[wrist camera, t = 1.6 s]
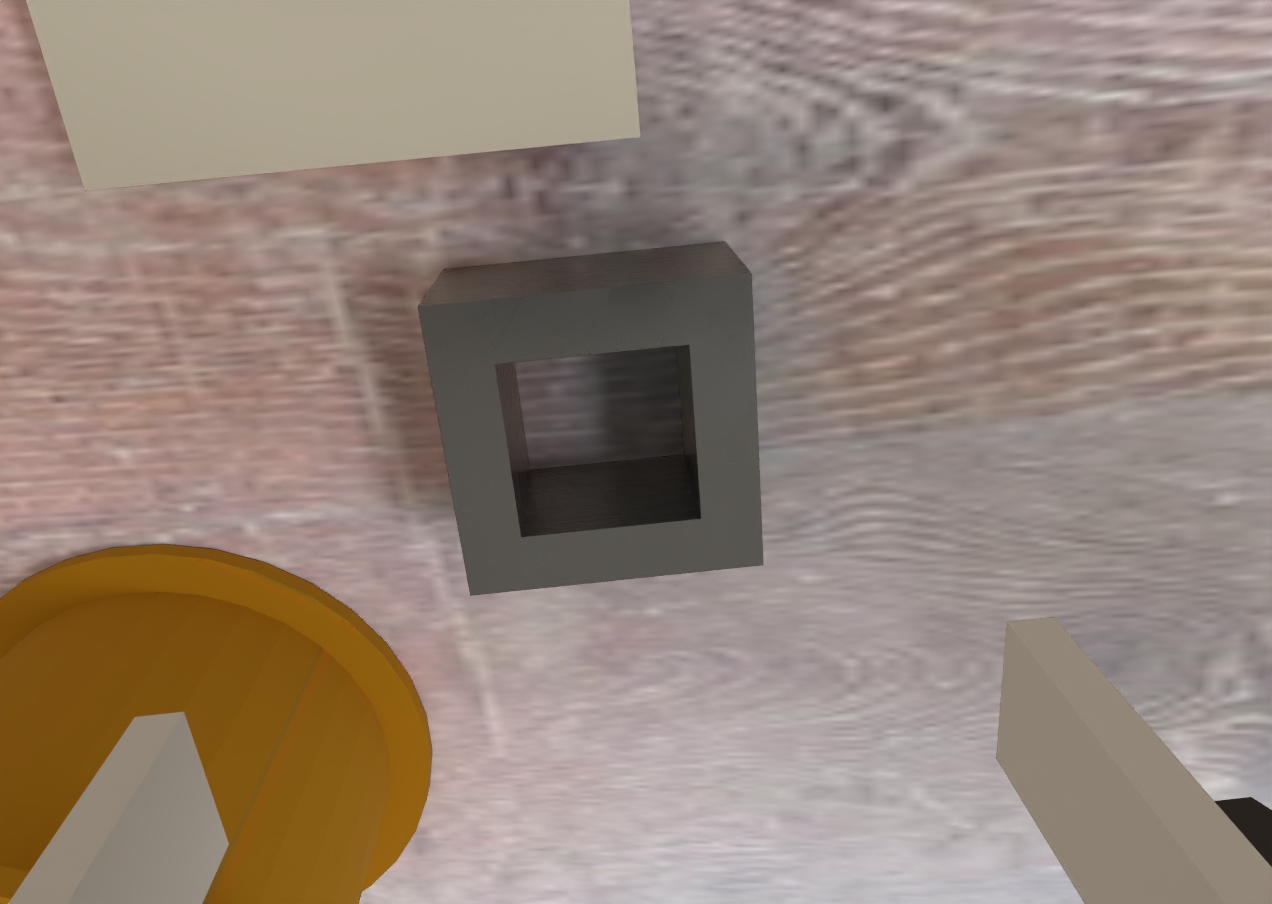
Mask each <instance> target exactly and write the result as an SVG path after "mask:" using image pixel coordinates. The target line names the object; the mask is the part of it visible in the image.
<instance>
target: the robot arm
mask: <svg viewBox="0 0 1272 904" xmlns="http://www.w3.org/2000/svg"><path fill="white" fill-rule="evenodd" d="M996 759H997V760H998V762H999V764H1000V765H1001V767H1002V769H1003V770H1004V772H1005V773H1006V775H1007V777H1008V778H1009V780H1010V782H1011V783H1012V785H1013V787H1014V788H1015V790H1016V792H1017V793H1018V795H1019V796H1020V798H1021V800H1022V801H1023V803H1024V805H1025V806H1026V808H1027V810H1028V811H1029V813H1030V815H1031V816H1032V818H1033V820H1034V821H1035V823H1036V824H1037V826H1038V828H1039V829H1040V831H1041V833H1042V834H1043V836H1044V838H1045V839H1046V841H1047V843H1048V844H1049V846H1050V847H1051V849H1052V851H1053V852H1054V854H1055V856H1056V857H1057V859H1058V861H1059V862H1060V864H1061V866H1062V867H1063V869H1064V871H1065V872H1066V874H1067V875H1068V877H1069V879H1070V880H1071V882H1072V884H1073V885H1074V887H1075V889H1076V890H1077V892H1078V894H1079V895H1080V897H1081V898H1082V900H1083V902H1084V903H1085V904H1272V810H1271V809H1269V808H1267V807H1266V806H1264V805H1263V804H1261V803H1260V802H1258V801H1257V800H1255V799H1253V798H1252V797H1247V798H1239V799H1230V800H1221V801H1214V800H1213V799H1212V798H1211V797H1210V796H1209V795H1208V793H1207V792H1206V791H1205V790H1204V789H1203V788H1202V787H1201V785H1200V784H1199V783H1198V782H1197V781H1196V780H1195V778H1194V777H1193V776H1192V775H1191V774H1190V773H1189V772H1188V770H1187V769H1186V768H1185V767H1184V766H1183V765H1182V764H1181V762H1180V761H1179V760H1178V759H1177V758H1176V757H1175V755H1174V754H1173V753H1172V752H1171V751H1170V750H1169V749H1168V747H1167V746H1166V745H1165V744H1164V743H1163V742H1162V741H1161V739H1160V738H1159V737H1158V736H1157V735H1156V734H1155V732H1154V731H1153V730H1152V729H1151V728H1150V727H1149V726H1148V724H1147V723H1146V722H1145V721H1144V720H1143V719H1142V718H1141V716H1140V715H1139V714H1138V713H1137V712H1136V711H1135V709H1134V708H1133V707H1132V706H1131V705H1130V704H1129V703H1128V701H1127V700H1126V699H1125V698H1124V697H1123V696H1122V695H1121V693H1120V692H1119V691H1118V690H1117V689H1116V688H1115V686H1114V685H1113V684H1112V683H1111V682H1110V681H1109V680H1108V678H1107V677H1106V676H1105V675H1104V674H1103V673H1102V672H1101V670H1100V669H1099V668H1098V667H1097V666H1096V665H1095V663H1094V662H1093V661H1092V660H1091V659H1090V658H1089V657H1088V655H1087V654H1086V653H1085V652H1084V651H1083V650H1082V649H1081V647H1080V646H1079V645H1078V644H1077V643H1076V642H1075V640H1074V639H1073V638H1072V637H1071V636H1070V635H1069V634H1068V632H1067V631H1066V630H1065V629H1064V628H1063V627H1062V625H1061V624H1060V623H1059V622H1058V621H1057V620H1056V619H1055V617H1049V618H1039V619H1030V620H1021V621H1012V622H1007V628H1006V640H1005V653H1004V666H1003V678H1002V691H1001V703H1000V716H999V729H998V741H997V754H996ZM228 845H229V843H228V840H227V837H226V834H225V831H224V828H223V825H222V822H221V819H220V816H219V813H218V810H217V807H216V805H215V802H214V799H213V796H212V793H211V790H210V787H209V784H208V781H207V778H206V775H205V772H204V769H203V766H202V763H201V761H200V758H199V755H198V752H197V749H196V746H195V743H194V740H193V737H192V734H191V731H190V728H189V725H188V722H187V719H186V716H185V714H184V712H176V713H167V714H158V715H149V716H140V717H135V718H134V719H133V721H132V722H131V723H130V725H129V726H128V728H127V729H126V731H125V732H124V734H123V735H122V737H121V738H120V740H119V741H118V743H117V744H116V746H115V747H114V748H113V750H112V751H111V753H110V754H109V756H108V757H107V759H106V760H105V762H104V763H103V765H102V766H101V768H100V769H99V771H98V772H97V774H96V775H95V776H94V778H93V779H92V781H91V782H90V784H89V785H88V787H87V788H86V790H85V791H84V793H83V794H82V796H81V797H80V799H79V800H78V801H77V803H76V804H75V806H74V807H73V809H72V810H71V812H70V813H69V815H68V816H67V818H66V819H65V821H64V822H63V824H62V825H61V826H60V828H59V829H58V831H57V832H56V834H55V835H54V837H53V838H52V840H51V841H50V843H49V844H48V846H47V847H46V849H45V850H44V851H43V853H42V854H41V856H40V857H39V859H38V860H37V862H36V863H35V865H34V866H33V868H32V869H31V871H30V872H29V874H28V875H27V877H26V878H25V879H24V881H23V882H22V884H21V885H20V887H19V888H18V890H17V891H16V893H15V894H14V896H13V897H12V899H11V900H10V902H9V903H8V904H202V903H203V901H204V899H205V896H206V894H207V892H208V890H209V888H210V885H211V883H212V881H213V879H214V876H215V874H216V872H217V870H218V867H219V865H220V863H221V861H222V858H223V856H224V854H225V852H226V850H227V847H228Z"/></svg>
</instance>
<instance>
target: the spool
mask: <svg viewBox="0 0 1272 904" xmlns="http://www.w3.org/2000/svg"><path fill="white" fill-rule="evenodd" d="M176 712H184V714H185V716H186V719H187V722H188V725H189V728H190V731H191V734H192V737H193V740H194V743H195V746H196V749H197V752H198V755H199V758H200V761H201V763H202V766H203V769H204V772H205V775H206V778H207V781H208V784H209V787H210V790H211V793H212V796H213V799H214V802H215V805H216V807H217V810H218V813H219V816H220V819H221V822H222V825H223V828H224V831H225V834H226V837H227V840H228V843H229V845H228V847H227V850H226V852H225V854H224V856H223V858H222V861H221V863H220V865H219V867H218V870H217V872H216V874H215V876H214V879H213V881H212V883H211V885H210V888H209V890H208V892H207V894H206V896H205V899H204V901H203V903H202V904H359V901H360V897H361V893H362V891H364V890H365V889H367V888H368V887H370V886H371V885H372V884H373V883H374V882H375V881H376V880H377V879H378V878H379V877H380V876H381V875H382V874H383V873H384V872H386V871H387V870H388V869H389V868H390V867H391V866H392V865H393V864H394V863H395V862H396V861H397V859H398V858H399V856H400V855H401V853H402V852H403V850H404V848H405V847H406V845H407V844H408V842H409V841H410V839H411V838H412V836H413V834H414V833H415V831H416V829H417V826H418V823H419V820H420V817H421V814H422V811H423V808H424V805H425V802H426V799H427V796H428V791H429V786H430V775H431V762H432V745H431V739H430V733H429V727H428V721H427V716H426V712H425V710H424V707H423V705H422V703H421V700H420V698H419V696H418V693H417V691H416V689H415V686H414V684H413V682H412V679H411V677H410V676H409V674H408V673H407V671H406V670H405V669H404V667H403V666H402V664H401V663H400V661H399V660H398V659H397V657H396V656H395V654H394V653H393V651H392V650H391V649H390V647H389V646H388V644H387V643H386V642H385V641H384V640H383V639H382V638H381V637H380V636H379V635H378V634H377V633H376V632H375V631H374V630H373V629H372V628H371V627H370V626H368V625H367V624H366V623H365V622H364V621H363V620H362V619H361V618H360V617H359V616H358V615H357V614H356V613H355V612H354V611H353V610H351V609H350V608H348V607H347V606H345V605H344V604H342V603H341V602H339V601H338V600H336V599H335V598H333V597H332V596H330V595H329V594H327V593H326V592H324V591H323V590H321V589H320V588H318V587H317V586H315V585H314V584H312V583H310V582H308V581H305V580H303V579H301V578H299V577H296V576H294V575H292V574H290V573H288V572H285V571H283V570H281V569H279V568H276V567H274V566H272V565H270V564H267V563H265V562H261V561H257V560H254V559H250V558H246V557H242V556H239V555H235V554H231V553H227V552H223V551H220V550H216V549H207V548H197V547H187V546H177V545H166V544H159V545H145V546H131V547H116V548H110V549H106V550H102V551H98V552H94V553H90V554H86V555H82V556H78V557H75V558H71V559H67V560H64V561H62V562H60V563H58V564H56V565H54V566H52V567H50V568H48V569H45V570H43V571H41V572H39V573H37V574H35V575H33V576H31V577H29V578H27V579H25V580H23V581H22V582H21V583H20V584H18V585H17V586H16V587H15V588H13V589H12V590H11V591H10V592H8V593H7V594H6V595H5V596H3V597H2V598H1V599H0V904H8V903H9V902H10V900H11V899H12V897H13V896H14V894H15V893H16V891H17V890H18V888H19V887H20V885H21V884H22V882H23V881H24V879H25V878H26V877H27V875H28V874H29V872H30V871H31V869H32V868H33V866H34V865H35V863H36V862H37V860H38V859H39V857H40V856H41V854H42V853H43V851H44V850H45V849H46V847H47V846H48V844H49V843H50V841H51V840H52V838H53V837H54V835H55V834H56V832H57V831H58V829H59V828H60V826H61V825H62V824H63V822H64V821H65V819H66V818H67V816H68V815H69V813H70V812H71V810H72V809H73V807H74V806H75V804H76V803H77V801H78V800H79V799H80V797H81V796H82V794H83V793H84V791H85V790H86V788H87V787H88V785H89V784H90V782H91V781H92V779H93V778H94V776H95V775H96V774H97V772H98V771H99V769H100V768H101V766H102V765H103V763H104V762H105V760H106V759H107V757H108V756H109V754H110V753H111V751H112V750H113V748H114V747H115V746H116V744H117V743H118V741H119V740H120V738H121V737H122V735H123V734H124V732H125V731H126V729H127V728H128V726H129V725H130V723H131V722H132V721H133V719H134V718H135V717H140V716H149V715H158V714H167V713H176Z"/></svg>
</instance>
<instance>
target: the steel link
mask: <svg viewBox="0 0 1272 904" xmlns="http://www.w3.org/2000/svg"><path fill="white" fill-rule="evenodd" d="M418 311H419V317H420V322H421V327H422V333H423V338H424V344H425V349H426V355H427V360H428V366H429V371H430V377H431V382H432V388H433V393H434V399H435V404H436V410H437V415H438V421H439V426H440V432H441V437H442V443H443V448H444V454H445V459H446V465H447V470H448V476H449V481H450V487H451V492H452V498H453V503H454V509H455V514H456V520H457V525H458V531H459V536H460V542H461V547H462V553H463V558H464V563H465V569H466V574H467V580H468V585H469V591H470V596H471V595H480V594H490V593H500V592H509V591H519V590H529V589H538V588H548V587H557V586H567V585H577V584H586V583H596V582H605V581H615V580H625V579H634V578H644V577H653V576H663V575H673V574H682V573H692V572H702V571H711V570H721V569H730V568H740V567H750V566H759V565H763V546H762V521H761V496H760V471H759V446H758V421H757V397H756V372H755V347H754V322H753V297H752V273H751V272H750V271H749V270H748V269H747V267H746V266H745V265H744V264H743V262H742V261H741V260H740V259H739V258H738V256H737V255H736V254H735V253H734V252H733V250H732V249H731V248H730V247H729V246H728V244H727V243H726V242H716V243H705V244H695V245H685V246H675V247H665V248H655V249H645V250H634V251H624V252H614V253H604V254H594V255H584V256H574V257H563V258H553V259H543V260H533V261H523V262H513V263H503V264H493V265H482V266H472V267H462V268H452V269H443V271H442V272H441V274H440V275H439V277H438V278H437V280H436V281H435V282H434V284H433V285H432V287H431V288H430V290H429V291H428V292H427V294H426V295H425V297H424V298H423V300H422V301H421V303H420V304H419V305H418ZM670 346H676V347H677V361H678V375H679V388H680V402H681V415H682V429H683V442H684V455H675V456H665V457H655V458H645V459H635V460H626V461H616V462H606V463H596V464H586V465H577V466H567V467H557V468H547V469H538V470H530V467H529V460H528V453H527V446H526V439H525V432H524V425H523V419H522V412H521V405H520V398H519V391H518V384H517V377H516V370H515V363H514V362H521V361H531V360H541V359H551V358H561V357H571V356H581V355H591V354H601V353H611V352H620V351H630V350H640V349H650V348H660V347H670Z"/></svg>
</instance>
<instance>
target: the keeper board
mask: <svg viewBox="0 0 1272 904" xmlns="http://www.w3.org/2000/svg"><path fill="white" fill-rule="evenodd" d="M26 2H27V5H28V9H29V12H30V15H31V18H32V22H33V25H34V28H35V31H36V35H37V38H38V41H39V44H40V47H41V51H42V54H43V57H44V60H45V64H46V67H47V70H48V73H49V77H50V80H51V83H52V86H53V90H54V93H55V96H56V99H57V103H58V106H59V109H60V112H61V116H62V119H63V122H64V125H65V129H66V132H67V135H68V138H69V142H70V145H71V148H72V151H73V155H74V158H75V161H76V164H77V168H78V171H79V174H80V177H81V180H82V184H83V187H84V190H85V191H89V190H99V189H110V188H120V187H130V186H141V185H151V184H161V183H172V182H182V181H192V180H203V179H213V178H223V177H234V176H244V175H254V174H265V173H275V172H285V171H296V170H306V169H316V168H327V167H337V166H347V165H358V164H368V163H378V162H389V161H399V160H409V159H420V158H430V157H440V156H451V155H461V154H471V153H482V152H492V151H502V150H513V149H523V148H533V147H544V146H554V145H564V144H575V143H585V142H595V141H606V140H616V139H626V138H637V137H640V125H639V113H638V100H637V88H636V76H635V64H634V52H633V39H632V27H631V15H630V3H629V0H26Z"/></svg>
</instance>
